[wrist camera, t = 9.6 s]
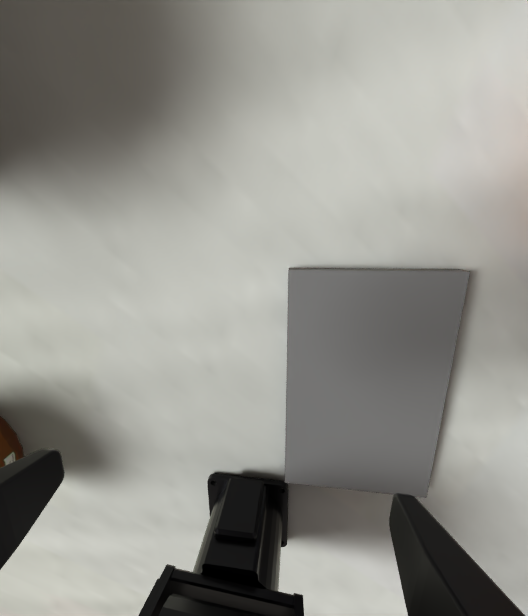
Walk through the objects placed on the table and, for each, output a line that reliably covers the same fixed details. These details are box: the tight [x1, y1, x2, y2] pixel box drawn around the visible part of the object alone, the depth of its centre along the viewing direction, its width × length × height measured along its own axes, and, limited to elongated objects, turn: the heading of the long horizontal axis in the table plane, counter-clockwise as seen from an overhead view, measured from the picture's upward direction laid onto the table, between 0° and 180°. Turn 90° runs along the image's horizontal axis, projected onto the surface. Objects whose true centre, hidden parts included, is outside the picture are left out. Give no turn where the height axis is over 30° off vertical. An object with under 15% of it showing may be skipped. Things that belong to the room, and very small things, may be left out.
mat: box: [285, 268, 470, 498], centre depth 18 cm, size 16×10×1 cm, turn 0°
